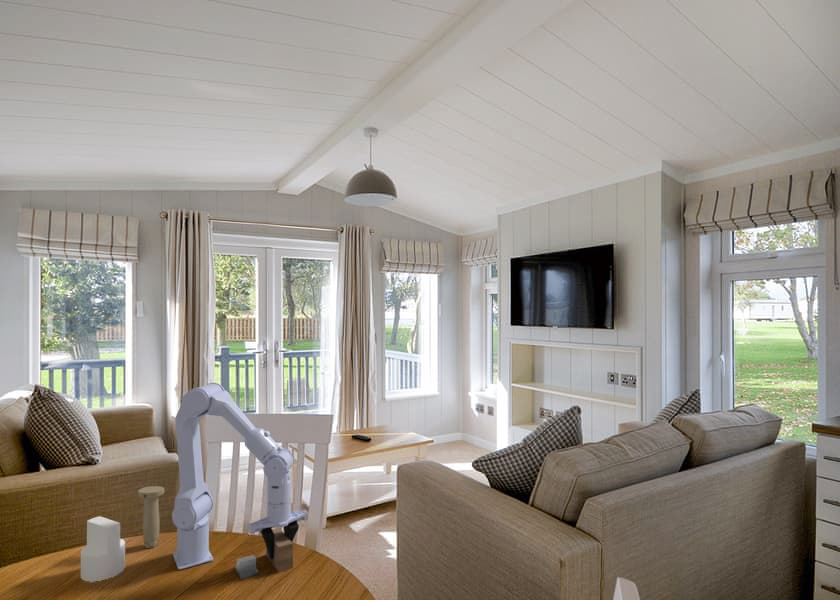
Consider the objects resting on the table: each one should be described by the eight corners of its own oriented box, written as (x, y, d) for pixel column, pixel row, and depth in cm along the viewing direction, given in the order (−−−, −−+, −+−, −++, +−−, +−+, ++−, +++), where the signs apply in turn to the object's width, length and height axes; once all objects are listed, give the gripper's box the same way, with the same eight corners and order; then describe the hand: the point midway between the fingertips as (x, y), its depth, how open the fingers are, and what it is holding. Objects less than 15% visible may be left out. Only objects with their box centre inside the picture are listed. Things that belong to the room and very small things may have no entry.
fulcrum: (234, 568, 120) (234, 555, 120) (251, 563, 122) (251, 551, 122) (241, 579, 115) (241, 566, 115) (258, 574, 117) (258, 561, 117)
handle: (155, 551, 129) (155, 493, 129) (133, 549, 130) (134, 492, 130) (168, 542, 133) (168, 486, 134) (146, 540, 134) (146, 485, 135)
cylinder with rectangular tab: (72, 576, 117) (72, 525, 117) (111, 559, 125) (111, 511, 125) (94, 586, 113) (94, 533, 113) (133, 567, 121) (133, 518, 121)
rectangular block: (265, 555, 126) (265, 531, 127) (279, 551, 128) (279, 528, 128) (278, 572, 118) (278, 547, 118) (292, 568, 120) (292, 543, 120)
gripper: (254, 512, 116) (254, 570, 116) (312, 498, 124) (312, 553, 124) (246, 502, 122) (246, 558, 122) (302, 490, 130) (302, 542, 130)
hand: (279, 554), depth 123 cm, fingers closed on rectangular block, 3 cm apart
